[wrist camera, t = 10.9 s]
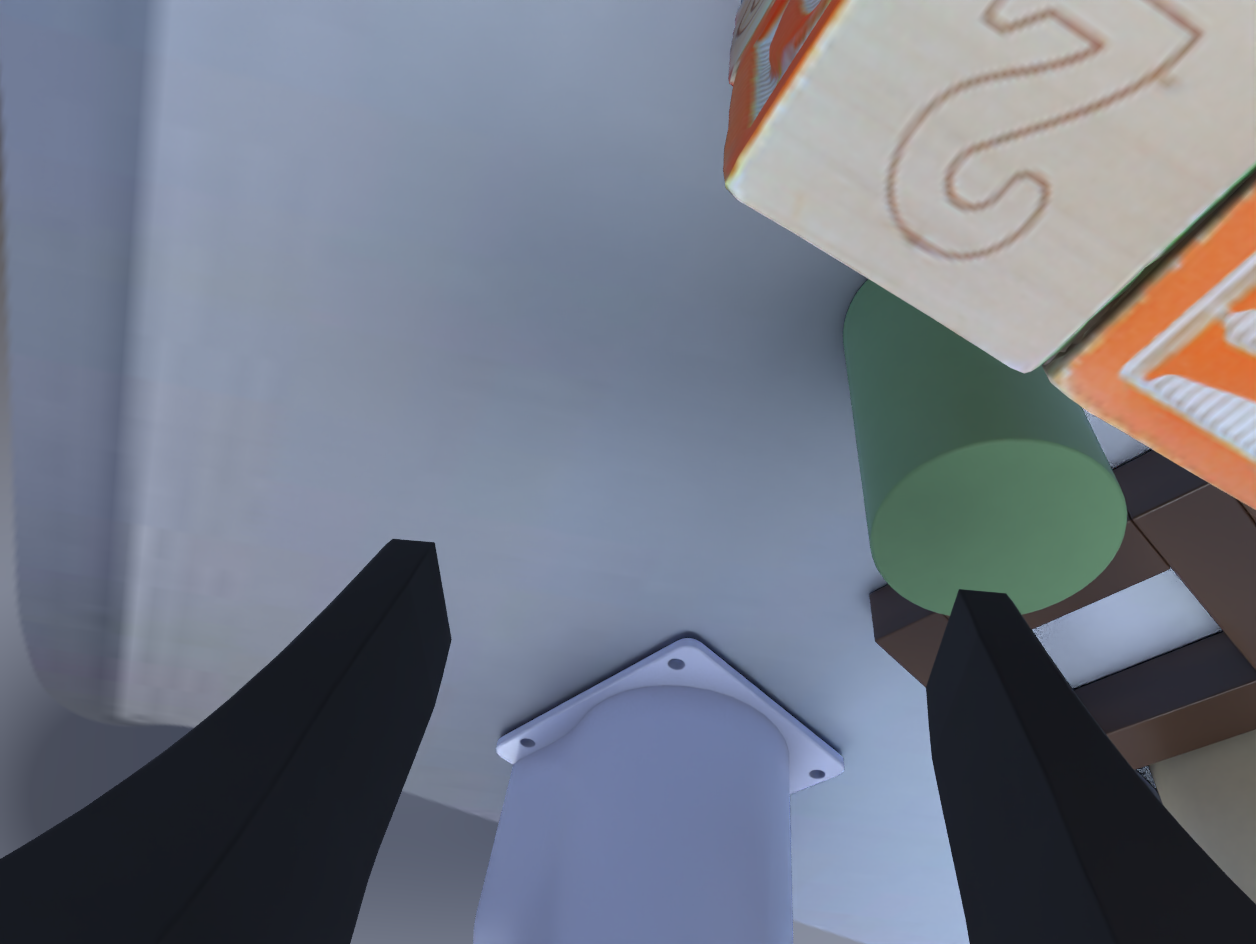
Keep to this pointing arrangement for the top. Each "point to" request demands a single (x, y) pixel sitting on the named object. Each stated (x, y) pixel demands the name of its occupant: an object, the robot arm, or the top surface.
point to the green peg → (972, 466)
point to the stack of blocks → (1032, 188)
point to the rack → (1153, 542)
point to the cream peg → (1216, 803)
